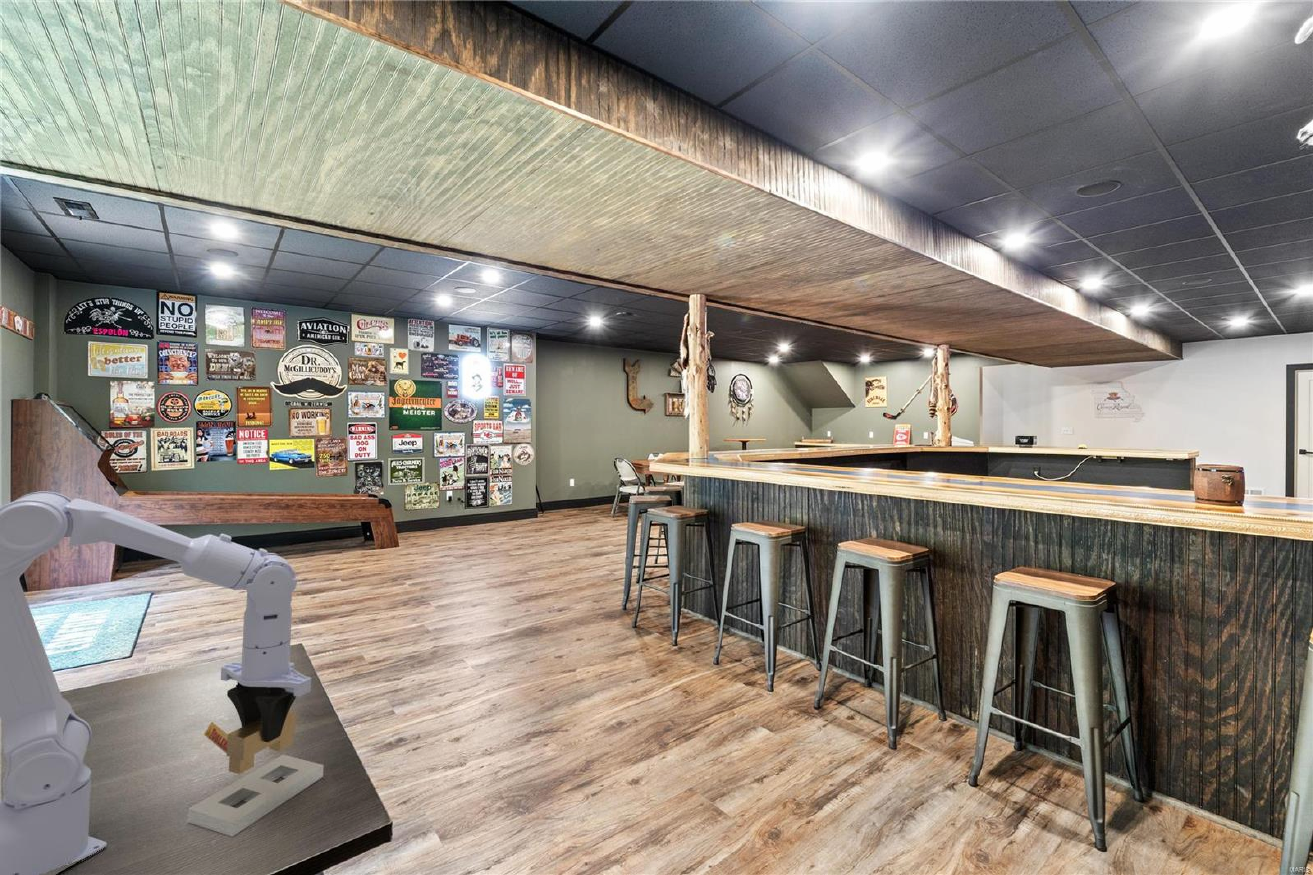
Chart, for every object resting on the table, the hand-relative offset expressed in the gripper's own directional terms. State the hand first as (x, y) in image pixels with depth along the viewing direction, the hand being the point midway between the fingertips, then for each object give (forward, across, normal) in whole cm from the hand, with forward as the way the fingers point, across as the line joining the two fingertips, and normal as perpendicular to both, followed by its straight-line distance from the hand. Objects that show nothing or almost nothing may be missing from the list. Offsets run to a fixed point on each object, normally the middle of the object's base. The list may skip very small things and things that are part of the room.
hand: (262, 736), depth 82 cm
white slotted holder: (+9, 0, 0) cm, 9 cm away
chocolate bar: (+10, +18, -8) cm, 22 cm away
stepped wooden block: (+3, 0, 0) cm, 3 cm away
